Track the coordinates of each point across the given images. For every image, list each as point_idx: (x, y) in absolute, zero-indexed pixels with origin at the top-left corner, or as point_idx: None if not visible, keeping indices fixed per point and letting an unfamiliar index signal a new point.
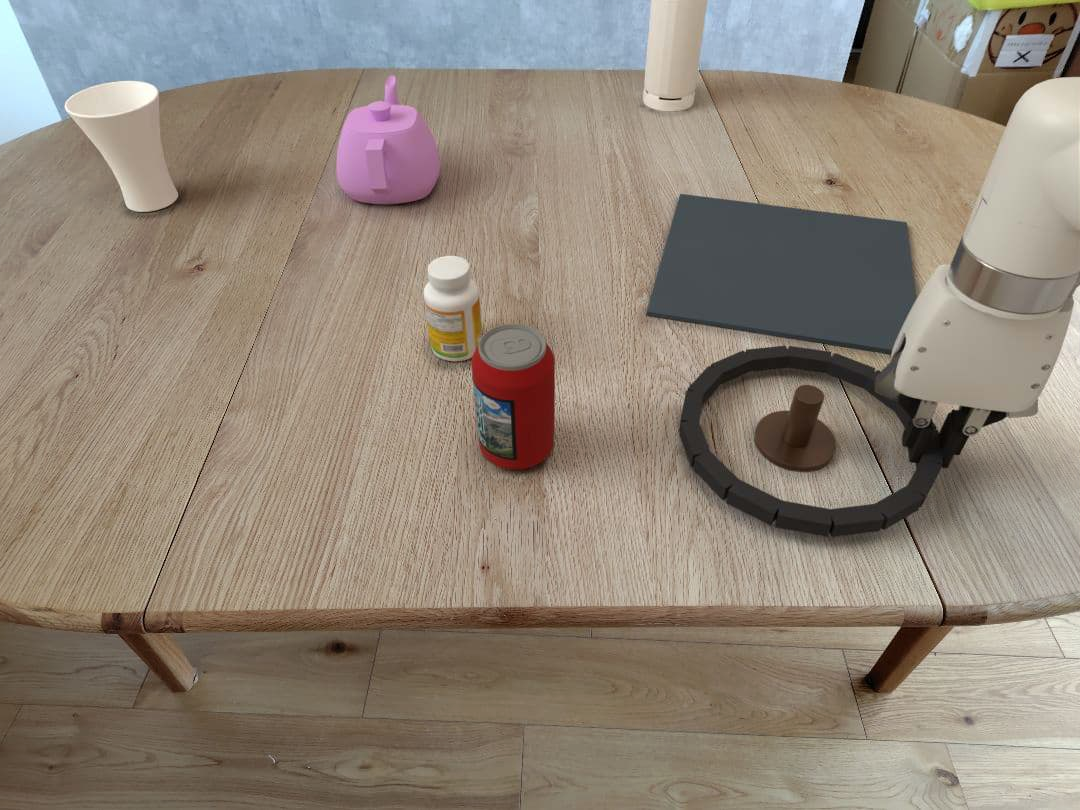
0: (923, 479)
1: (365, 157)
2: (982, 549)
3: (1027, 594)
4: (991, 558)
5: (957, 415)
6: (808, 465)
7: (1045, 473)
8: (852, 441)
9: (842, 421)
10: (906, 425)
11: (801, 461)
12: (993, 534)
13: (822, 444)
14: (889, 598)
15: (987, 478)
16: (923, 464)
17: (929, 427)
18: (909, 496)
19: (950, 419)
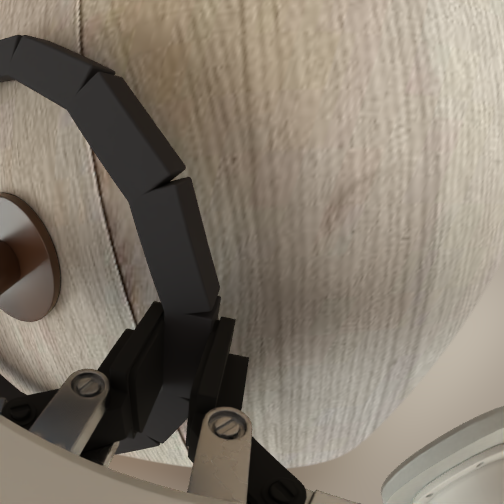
0: (159, 425)
1: None
2: (263, 433)
3: (292, 465)
4: (269, 441)
5: (190, 442)
6: (29, 318)
7: (439, 309)
8: (86, 249)
9: (70, 194)
10: (114, 346)
11: (20, 311)
12: (288, 418)
13: (36, 277)
14: (145, 458)
15: (331, 331)
16: (162, 401)
17: (130, 429)
18: (137, 441)
19: (188, 413)
